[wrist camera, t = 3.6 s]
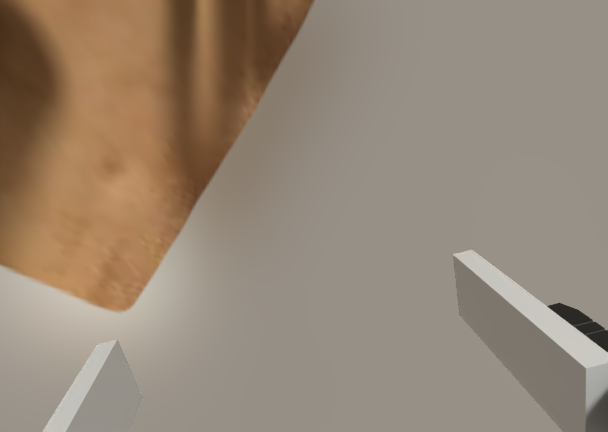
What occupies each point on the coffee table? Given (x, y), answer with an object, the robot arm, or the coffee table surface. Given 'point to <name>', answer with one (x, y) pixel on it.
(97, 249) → the coffee table surface
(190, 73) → the coffee table surface
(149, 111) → the coffee table surface
